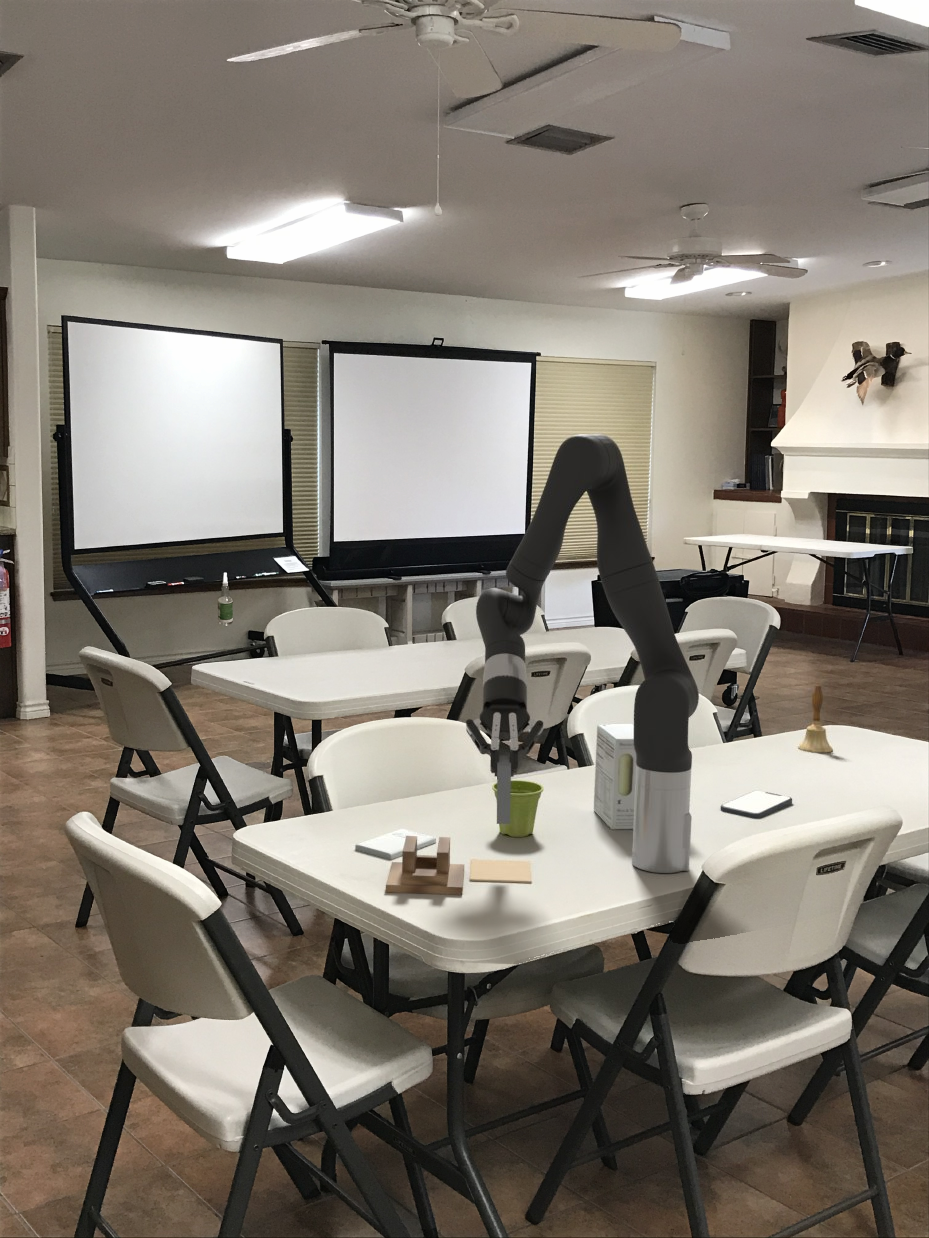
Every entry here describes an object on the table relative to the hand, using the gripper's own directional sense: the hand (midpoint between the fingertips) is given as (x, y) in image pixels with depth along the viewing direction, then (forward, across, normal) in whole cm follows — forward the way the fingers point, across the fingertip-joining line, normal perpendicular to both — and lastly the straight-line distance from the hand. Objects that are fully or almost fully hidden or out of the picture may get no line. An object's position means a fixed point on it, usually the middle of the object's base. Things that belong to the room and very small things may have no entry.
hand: (504, 773), depth 193 cm
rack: (+15, -12, +9) cm, 21 cm away
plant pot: (-5, +2, +29) cm, 30 cm away
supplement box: (-12, +25, +37) cm, 47 cm away
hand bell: (-59, +77, +85) cm, 129 cm away
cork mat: (+11, 0, +14) cm, 17 cm away
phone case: (-20, +51, +46) cm, 72 cm away
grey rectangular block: (+4, 0, +8) cm, 9 cm away
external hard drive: (+3, -19, +22) cm, 29 cm away
